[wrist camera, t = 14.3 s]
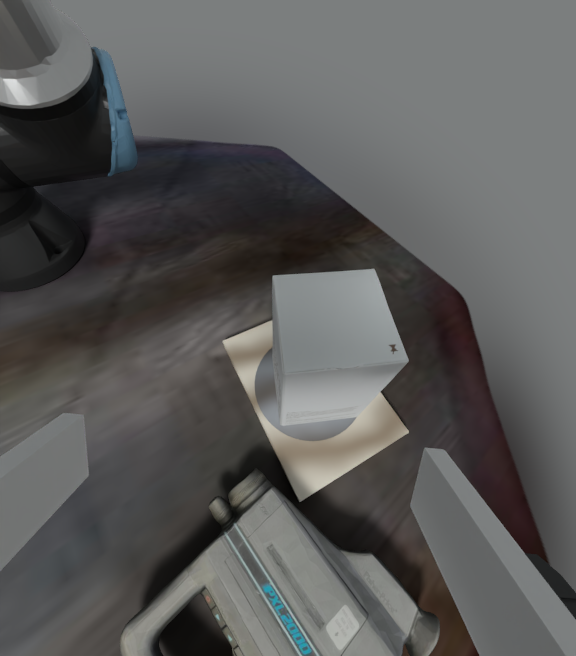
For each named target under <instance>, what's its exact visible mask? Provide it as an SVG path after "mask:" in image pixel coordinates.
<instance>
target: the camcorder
mask: <svg viewBox="0 0 576 656" xmlns="http://www.w3.org/2000/svg"><path fill="white" fill-rule="evenodd" d="M228 497H229V500H230V503H231V504H230V505H229V504H228V503H227V502H226V501H225V500H224V499H223V498H222V497H220V496H217V497H215V498H214V499H213V500H212V501H211V502H210V504H209V509H210V511H211V513H212V515H213V517H214V518H215V519H216V521H217V522H218V523H219V524H220V525H221V526H222V531H221V533H220V534H219V536H218V537H217V538H216V539H215V540H214V541H212V542H211V543H210V544H209V545H208V546H207V547H206V548H205V549H204V550H203V551H202V552H201V553H200V554H199V555H198V556H197V557H196V558H195V559H194V560H193V561H192V562H191V563H190V564H189V565H188V566H186V567H185V568H184V569H183V570H182V571H181V572H180V573H179V574H178V575H177V576H176V577H175V578H174V579H173V580H172V581H171V582H170V583H168V584H167V585H166V586H165V587H164V588H163V589H162V590H161V591H160V592H159V593H158V594H157V595H156V596H155V597H154V598H153V599H152V600H151V601H150V602H149V603H148V604H147V605H146V606H145V607H144V608H143V609H142V610H141V611H140V612H138V613H137V614H136V615H135V616H134V617H133V618H132V619H131V620H130V621H129V622H128V623H127V624H126V626H125V628H124V630H123V631H122V634H121V638H120V653H121V656H163V654H162V653H161V650H160V648H159V637H160V634H161V633H162V631H163V630H164V628H165V627H166V626H167V625H168V624H169V623H170V622H171V621H172V620H173V619H174V618H175V617H176V616H177V615H178V614H179V613H180V612H181V611H182V610H183V608H184V607H185V606H186V605H187V604H188V603H189V602H190V601H191V600H192V599H193V598H194V597H196V596H197V595H198V594H201V595H202V596H203V597H204V599H205V601H206V603H207V605H208V607H209V608H210V610H211V612H212V614H213V616H214V618H215V620H216V621H217V623H218V625H219V627H220V629H221V631H222V633H223V634H224V636H225V637H226V639H227V640H228V642H229V643H230V645H231V646H232V653H233V656H402V652H403V645H404V644H405V645H406V647H407V650H408V653H409V655H410V656H429V655H430V654H431V652H432V651H433V649H434V648H435V646H436V643H437V641H438V638H439V633H440V626H439V625H440V623H439V619H438V618H437V616H436V615H434V614H432V613H430V612H426V611H423V610H422V609H421V608H420V607H419V606H418V605H417V603H416V602H415V601H414V599H413V598H412V596H411V595H410V594H409V593H408V592H407V591H406V589H405V588H404V586H403V585H402V583H401V582H400V581H399V580H398V579H397V577H396V576H395V575H394V574H393V573H392V572H391V571H390V570H389V569H388V568H387V567H386V565H385V564H384V563H383V562H382V561H381V560H380V559H379V557H377V556H376V555H375V554H374V553H373V552H371V551H368V550H363V551H361V552H356V551H352V550H345V549H342V548H340V547H339V546H337V545H336V544H334V543H333V542H332V541H331V540H329V539H328V538H327V537H326V536H325V535H324V534H323V533H322V532H321V531H320V530H319V529H318V528H317V527H316V526H315V525H314V524H313V523H312V522H311V521H310V520H309V519H308V518H307V517H306V516H305V515H304V514H303V513H302V512H301V511H300V510H298V509H297V508H296V507H295V506H294V504H293V503H292V502H291V501H289V500H288V499H287V498H286V497H285V496H284V495H283V493H281V492H280V491H279V490H278V489H277V488H276V487H275V486H273V485H272V484H271V483H270V482H269V480H268V479H267V478H266V477H265V475H264V474H263V473H262V472H261V471H260V470H258V469H257V468H255V469H254V470H253V472H252V473H250V474H249V475H248V476H247V477H246V478H245V479H244V480H242V481H241V482H240V483H238V484H237V485H236V486H235V487H234V488H233V489H232V490H231V491H230V492H229V494H228Z"/></svg>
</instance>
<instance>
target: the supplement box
mask: <svg viewBox="0 0 576 656" xmlns="http://www.w3.org/2000/svg"><path fill="white" fill-rule="evenodd" d="M272 327H273V354H272V358H273V368H274V377H275V386H276V395H277V404H278V413H279V421H280V425H281V426H286V425H295V424H303V423H312V422H321V421H329V420H338V419H346V418H354V417H358V415H359V414H360V413H361V412H362V411H363V410H364V409H365V408H366V407H367V406H368V405H369V404H370V403H371V401H372V400H373V399H374V398H375V397H376V396H377V395H378V394H379V393H380V392H381V391H382V390H383V388H384V387H385V386H386V385H387V384H388V383H389V382H390V381H391V380H392V379H393V378H394V377H395V376H396V374H397V373H398V372H399V371H400V370H401V369H402V368H403V367H404V366H405V365H406V364H407V363H408V361H409V360H408V357H407V355H406V352H405V349H404V347H403V344H402V342H401V339H400V336H399V334H398V331H397V329H396V326H395V323H394V321H393V318H392V315H391V313H390V310H389V307H388V305H387V302H386V299H385V296H384V293H383V290H382V287H381V284H380V282H379V279H378V277H377V274H376V271H375V269H366V270H351V271H336V272H321V273H305V274H289V275H273V279H272Z"/></svg>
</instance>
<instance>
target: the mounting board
mask: <svg viewBox="0 0 576 656" xmlns="http://www.w3.org/2000/svg"><path fill="white" fill-rule="evenodd" d="M223 345H224V347H225V349H226V351H227V353H228V355H229V357H230V359H231V362H232V364H233V366H234V368H235V370H236V372H237V374H238V376H239V378H240V380H241V382H242V385H243V387H244V389H245V391H246V393H247V395H248V397H249V399H250V401H251V403H252V405H253V408H254V410H255V412H256V414H257V416H258V418H259V420H260V422H261V424H262V426H263V428H264V431H265V433H266V435H267V437H268V439H269V441H270V443H271V445H272V447H273V449H274V451H275V453H276V456H277V458H278V460H279V462H280V464H281V466H282V468H283V470H284V472H285V474H286V476H287V479H288V481H289V483H290V485H291V487H292V489H293V491H294V493H295V495H296V497H297V499H298V502H301V501H302V500H304V499H306V498H307V497H309V496H310V495H312V494H313V493H315V492H317V491H318V490H320V489H321V488H323V487H324V486H326V485H327V484H329V483H331V482H332V481H334V480H335V479H337V478H338V477H340V476H342V475H343V474H345V473H346V472H348V471H349V470H351V469H352V468H354V467H356V466H357V465H359V464H360V463H362V462H363V461H365V460H367V459H368V458H370V457H371V456H373V455H374V454H376V453H377V452H379V451H381V450H382V449H384V448H385V447H387V446H388V445H390V444H392V443H393V442H395V441H396V440H398V439H399V438H401V437H402V436H404V435H406V434H407V433H409V431H408V430H407V428H406V427H405V426H404V424H403V423H402V421H401V420H400V419H399V417H398V416H397V414H396V413H395V412H394V410H393V409H392V407H391V406H390V405H389V403H388V402H387V400H386V399H385V398H384V396H383V395H382V393H381V392H380V393H379V394H378V395H377V396H376V397H375V398H374V399H373V400H372V401H371V403H370V404H369V405H368V406H367V407H366V408H365V409H364V410H363V411H362V412H361V413H360V414H359V415H358V417H354V418H346V419H338V420H329V421H321V422H312V423H303V424H295V425H286V426H281V425H280V421H279V413H278V404H277V395H276V386H275V377H274V368H273V358H272V354H273V327H272V320H271V321H269V322H266V323H264V324H262V325H259V326H257V327H255V328H252V329H250V330H247V331H245V332H243V333H240V334H238V335H236V336H233V337H231V338H228V339H226V340H224V341H223Z"/></svg>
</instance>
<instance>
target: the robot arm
mask: <svg viewBox="0 0 576 656" xmlns="http://www.w3.org/2000/svg"><path fill="white" fill-rule="evenodd" d="M137 162H138V155H137V150H136V146H135V141H134V137H133V133H132V129H131V126H130V122H129V118H128V116H127V111H126V107H125V104H124V99H123V95H122V91H121V88H120V84H119V81H118V77H117V74H116V70H115V67H114V64H113V61H112V58H111V56H110V54H109V53H108V52H107V51H105V50H102V49H98V48H96V47H90V44H89V42H88V40H87V38H86V37H85V35H84V34H83V32H82V30H81V28H80V27H79V26H78V25H77V24H76V23H75V22H74V21H73V20H72V19H71V18H70V17H69V16H67V15H66V14H64V13H63V12H62V11H60V10H58V9H56V8H55V7H53V5H52V3H51V1H50V0H0V291H7V292H10V291H21V290H27V289H31V288H35V287H38V286H41V285H44V284H46V283H48V282H50V281H53V280H54V279H56V278H58V277H60V276H61V275H63V274H64V273H66V272H67V271H68V270H69V269H70V268H72V267H73V266H74V265H75V263H76V262H77V261H78V260H79V258H80V257H81V255H82V253H83V251H84V247H85V239H84V235H83V233H82V232H81V231H80V229H79V228H78V226H77V225H76V223H75V222H74V221H73V220H72V219H71V218H70V217H69V216H68V215H66V214H65V213H64V212H62V211H61V210H60V209H59V208H57V207H56V206H55V205H53V204H52V203H51V202H50V201H48V200H47V199H46V198H44V197H43V196H42V195H40V194H39V193H38V192H37V191H36V190H35V189H34V186H41V185H48V184H55V183H62V182H69V181H77V180H84V179H91V178H98V177H106V176H108V177H110V176H112V175H113V174H117V173H121V172H126V171H130V170H132V169H134V168H135V166H136V165H137ZM88 476H89V471H88V459H87V447H86V436H85V424H84V415H80V414H70V413H63V414H61V415H60V416H58V417H57V418H56V419H54V420H53V421H51V422H50V423H48V424H47V425H45V426H44V427H42V428H41V429H40V430H38V431H37V432H35V433H34V434H32V435H31V436H29V437H28V438H27V439H25V440H24V441H22V442H21V443H19V444H18V445H16V446H15V447H13V448H12V449H11V450H9V451H8V452H6V453H5V454H3V455H2V456H0V571H1V570H2V569H3V568H4V567H5V565H6V564H7V563H8V562H9V561H10V560H11V559H12V558H13V557H14V556H15V555H16V554H17V553H18V551H19V550H20V549H21V548H22V547H23V546H24V545H25V544H26V543H27V542H28V541H29V540H30V538H31V537H32V536H33V535H34V534H35V533H36V532H37V531H38V530H39V529H40V528H41V527H42V526H43V524H44V523H45V522H46V521H47V520H48V519H49V518H50V517H51V516H52V515H53V514H54V513H55V511H56V510H57V509H58V508H59V507H60V506H61V505H62V504H63V503H64V502H65V501H66V500H67V499H68V497H69V496H70V495H71V494H72V493H73V492H74V491H75V490H76V489H77V488H78V487H79V486H80V484H81V483H82V482H83V481H84V480H85V479H86V478H87V477H88ZM410 507H411V509H412V511H413V513H414V515H415V518H416V520H417V522H418V524H419V526H420V528H421V530H422V533H423V535H424V537H425V539H426V541H427V543H428V546H429V548H430V550H431V552H432V554H433V556H434V558H435V561H436V563H437V565H438V567H439V569H440V571H441V574H442V576H443V578H444V580H445V582H446V584H447V586H448V589H449V591H450V593H451V595H452V597H453V599H454V601H455V604H456V606H457V608H458V610H459V612H460V614H461V617H462V619H463V621H464V623H465V625H466V627H467V629H468V632H469V634H470V636H471V638H472V640H473V642H474V645H475V647H476V649H477V651H478V653H479V655H480V656H576V593H575V591H574V590H573V589H572V588H571V587H570V585H569V584H568V583H567V582H566V581H565V580H564V578H563V577H562V576H561V575H560V574H559V573H558V572H557V571H556V570H554V569H553V568H552V567H551V566H550V565H549V564H547V563H546V562H545V561H544V560H543V559H542V558H540V557H539V556H538V555H536V554H526V553H524V552H523V551H522V550H521V548H520V547H519V546H518V544H517V543H516V542H515V540H514V539H513V538H512V537H511V535H510V534H509V533H508V531H507V530H506V529H505V528H504V526H503V525H502V524H501V522H500V521H499V520H498V518H497V517H496V516H495V515H494V513H493V512H492V511H491V509H490V508H489V507H488V506H487V504H486V503H485V502H484V500H483V499H482V498H481V497H480V495H479V494H478V493H477V491H476V490H475V489H474V487H473V486H472V485H471V484H470V482H469V481H468V480H467V478H466V477H465V476H464V475H463V473H462V472H461V471H460V469H459V468H458V467H457V466H456V464H455V463H454V462H453V460H452V459H451V458H450V456H449V455H448V454H447V453H446V451H445V450H443V449H433V448H424V452H423V456H422V460H421V464H420V468H419V472H418V476H417V480H416V484H415V488H414V492H413V496H412V500H411V504H410Z"/></svg>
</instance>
